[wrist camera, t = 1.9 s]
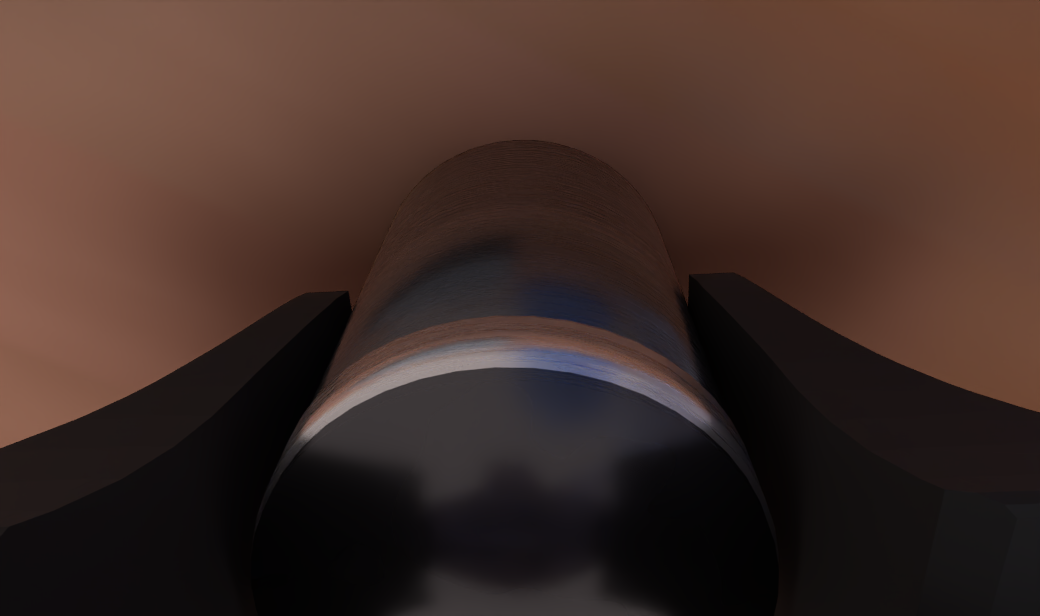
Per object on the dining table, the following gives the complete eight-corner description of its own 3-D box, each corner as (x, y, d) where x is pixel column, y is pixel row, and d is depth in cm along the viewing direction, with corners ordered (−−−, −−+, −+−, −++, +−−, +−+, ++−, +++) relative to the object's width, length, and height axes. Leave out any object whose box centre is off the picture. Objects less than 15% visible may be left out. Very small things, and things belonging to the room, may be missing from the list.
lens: (672, 127, 12) (812, 361, 6) (665, 394, 15) (763, 764, 8) (359, 146, 13) (185, 388, 6) (399, 405, 15) (300, 775, 9)
